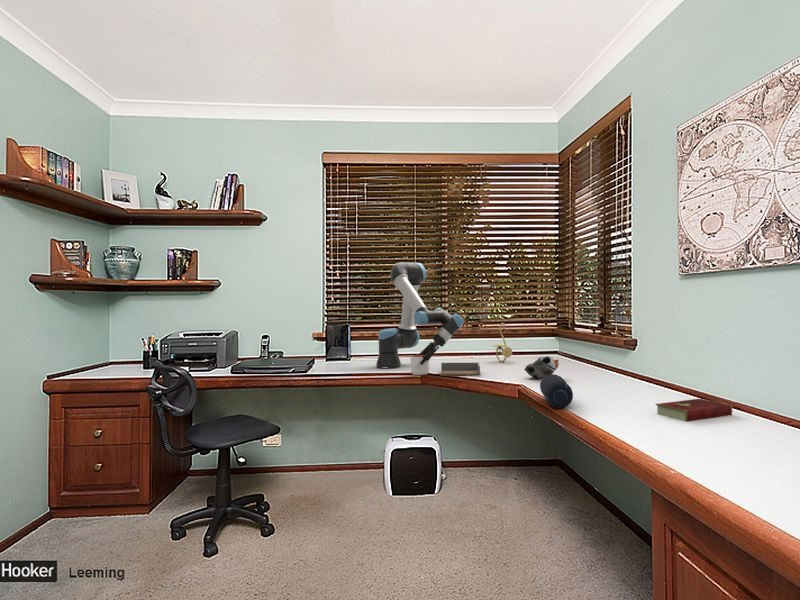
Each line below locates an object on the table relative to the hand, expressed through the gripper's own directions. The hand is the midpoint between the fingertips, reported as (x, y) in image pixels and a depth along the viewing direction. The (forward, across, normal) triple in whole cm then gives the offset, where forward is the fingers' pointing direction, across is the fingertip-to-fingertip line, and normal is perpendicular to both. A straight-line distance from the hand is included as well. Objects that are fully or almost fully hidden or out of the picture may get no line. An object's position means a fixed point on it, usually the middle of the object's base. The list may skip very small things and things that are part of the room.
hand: (414, 367), depth 277 cm
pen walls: (-15, -6, -19) cm, 25 cm away
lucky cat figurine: (-39, -31, -45) cm, 68 cm away
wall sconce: (-42, +35, -48) cm, 72 cm away
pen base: (-14, -6, -20) cm, 25 cm away
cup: (+1, 0, -5) cm, 5 cm away
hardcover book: (-50, -118, -56) cm, 140 cm away
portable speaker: (-25, -89, -31) cm, 97 cm away
